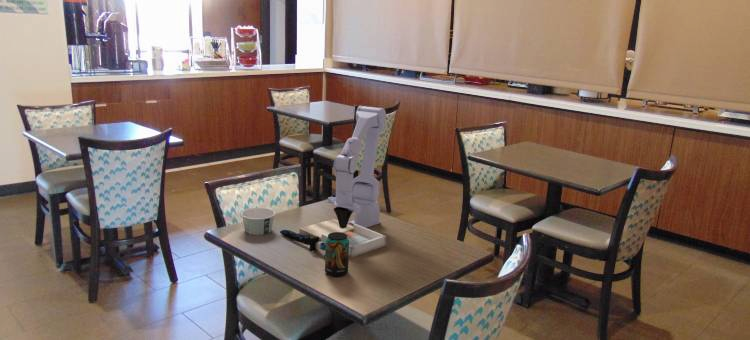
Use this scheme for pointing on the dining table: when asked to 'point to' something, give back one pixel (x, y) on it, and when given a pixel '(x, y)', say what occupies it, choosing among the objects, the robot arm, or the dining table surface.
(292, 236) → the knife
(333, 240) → the beverage can
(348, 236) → the terracotta tile
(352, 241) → the blue tile
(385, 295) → the dining table surface
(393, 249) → the dining table surface
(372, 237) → the box
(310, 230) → the birch plate
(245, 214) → the food container
